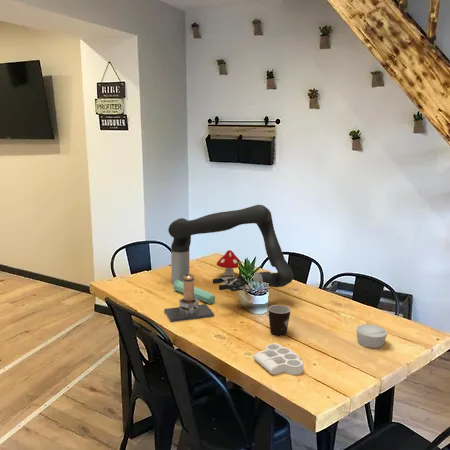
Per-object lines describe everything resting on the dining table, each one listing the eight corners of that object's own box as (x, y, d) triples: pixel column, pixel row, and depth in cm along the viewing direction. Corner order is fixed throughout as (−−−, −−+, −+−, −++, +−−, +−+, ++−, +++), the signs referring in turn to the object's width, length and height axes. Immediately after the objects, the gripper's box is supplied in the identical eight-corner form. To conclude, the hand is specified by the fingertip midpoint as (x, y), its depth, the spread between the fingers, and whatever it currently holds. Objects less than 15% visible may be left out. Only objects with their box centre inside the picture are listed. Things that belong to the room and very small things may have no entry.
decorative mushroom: (210, 276, 257) (210, 249, 253) (229, 271, 266) (229, 245, 263) (228, 283, 246) (229, 255, 243) (247, 277, 256) (248, 250, 252)
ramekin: (381, 352, 174) (382, 339, 173) (351, 345, 180) (352, 331, 179) (389, 341, 183) (390, 328, 182) (360, 334, 189) (361, 321, 188)
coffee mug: (275, 339, 183) (276, 314, 181) (263, 330, 191) (264, 307, 189) (300, 333, 188) (301, 309, 186) (287, 325, 196) (288, 302, 194)
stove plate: (164, 311, 208) (164, 298, 207) (205, 306, 215) (205, 293, 214) (170, 322, 197) (170, 308, 196) (214, 316, 204) (214, 303, 202)
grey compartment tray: (248, 357, 170) (283, 349, 176) (276, 381, 154) (312, 371, 161) (248, 348, 169) (283, 340, 176) (276, 371, 153) (313, 362, 160)
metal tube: (182, 309, 207) (181, 274, 204) (192, 308, 209) (192, 273, 205) (185, 314, 203) (184, 278, 199) (195, 312, 205) (195, 277, 201)
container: (215, 291, 217) (180, 277, 235) (206, 298, 214) (171, 284, 231) (218, 301, 220) (183, 286, 237) (210, 308, 217) (175, 293, 234)
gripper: (244, 268, 219) (210, 271, 214) (256, 277, 206) (221, 281, 201) (244, 283, 221) (210, 287, 215) (256, 294, 208) (221, 298, 202)
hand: (215, 284), depth 208 cm, fingers open, 8 cm apart
